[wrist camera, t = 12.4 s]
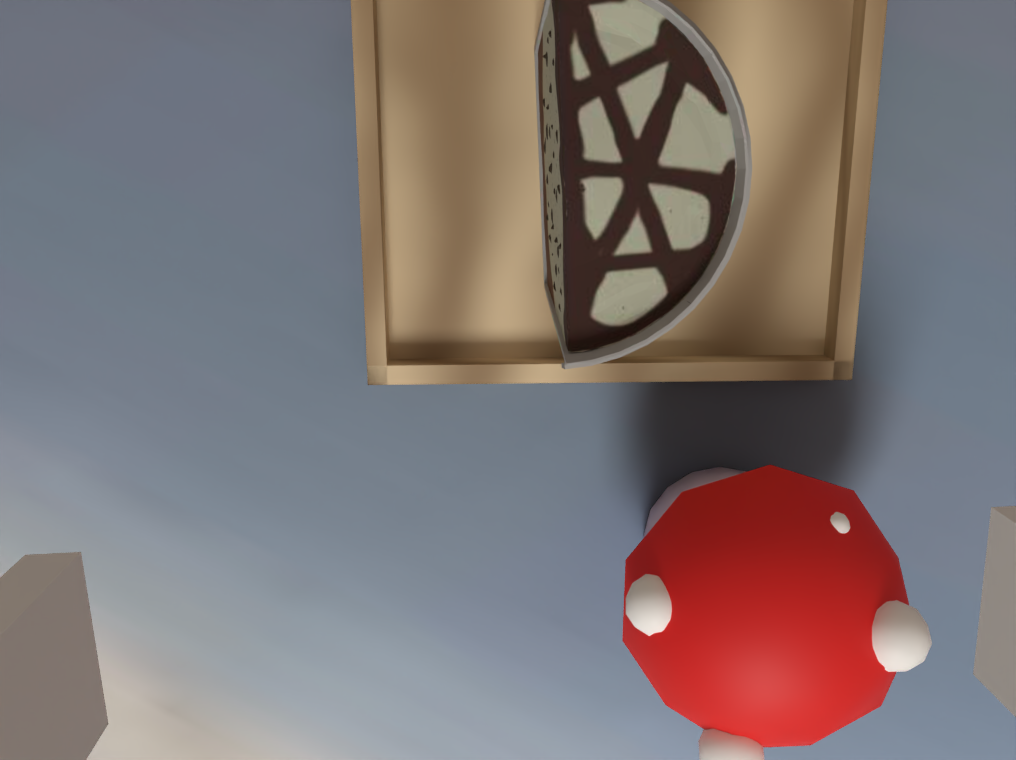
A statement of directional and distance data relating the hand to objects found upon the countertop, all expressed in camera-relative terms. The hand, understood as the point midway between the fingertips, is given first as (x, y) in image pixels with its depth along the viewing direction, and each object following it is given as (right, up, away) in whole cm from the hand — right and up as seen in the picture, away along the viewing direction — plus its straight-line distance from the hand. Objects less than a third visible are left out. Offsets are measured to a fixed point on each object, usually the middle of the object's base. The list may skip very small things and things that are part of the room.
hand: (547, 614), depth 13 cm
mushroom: (+9, -3, +28) cm, 29 cm away
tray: (+4, +12, +24) cm, 27 cm away
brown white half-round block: (+4, +12, +23) cm, 26 cm away
